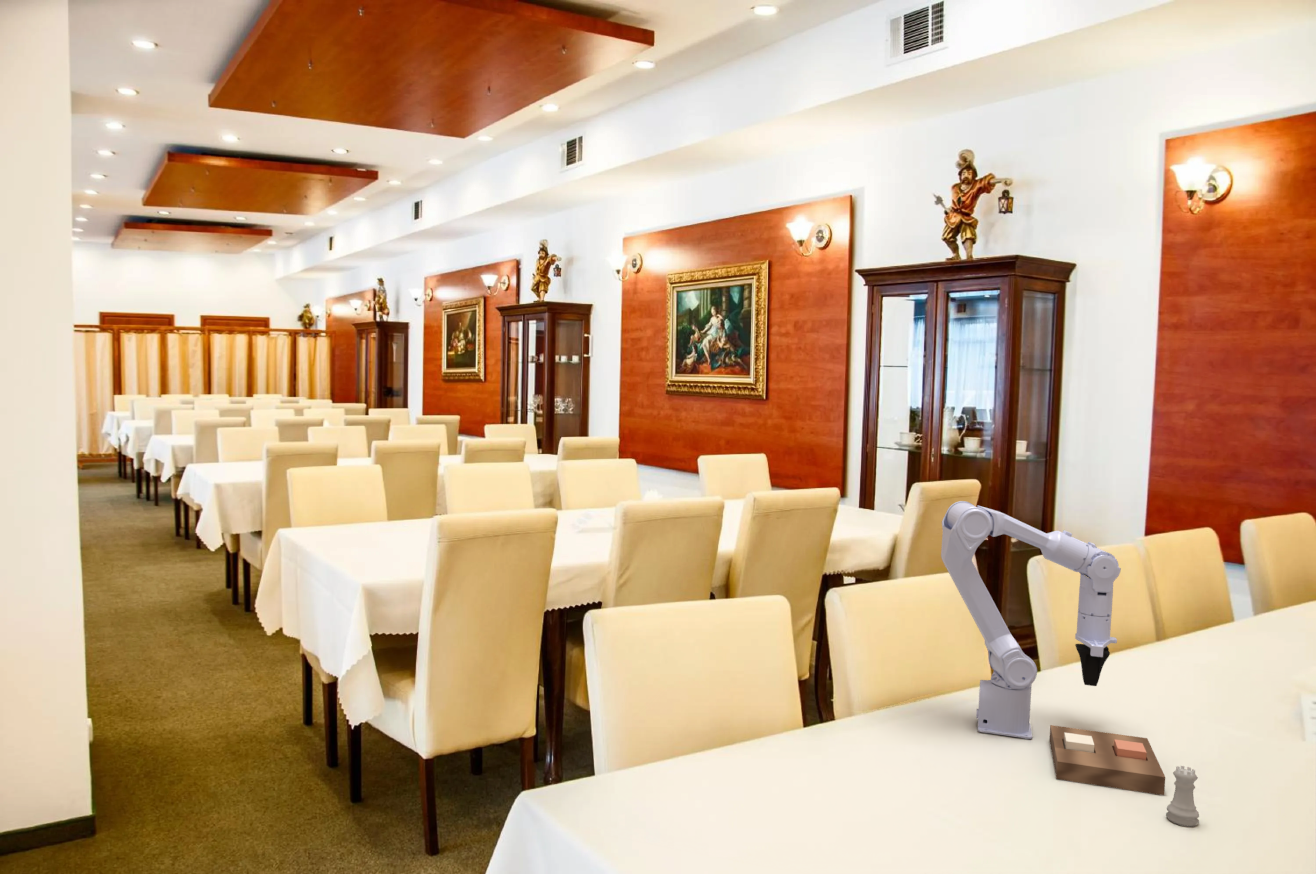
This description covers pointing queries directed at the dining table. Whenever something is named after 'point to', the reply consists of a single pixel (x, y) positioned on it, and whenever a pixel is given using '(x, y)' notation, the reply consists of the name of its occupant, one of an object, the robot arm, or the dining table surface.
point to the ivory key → (1078, 742)
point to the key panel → (1106, 762)
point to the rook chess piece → (1183, 799)
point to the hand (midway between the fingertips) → (1090, 684)
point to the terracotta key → (1129, 749)
